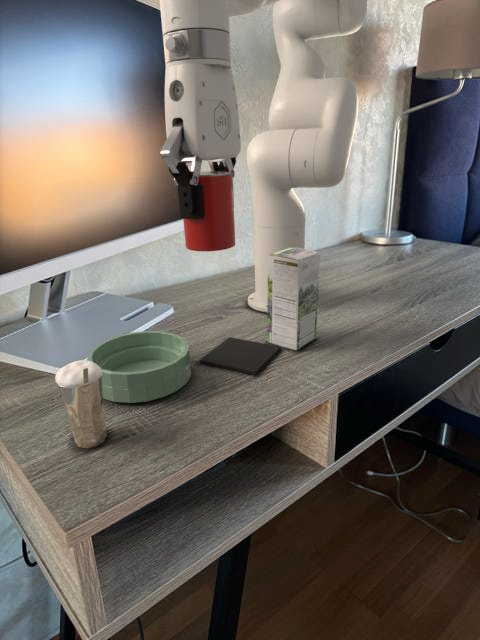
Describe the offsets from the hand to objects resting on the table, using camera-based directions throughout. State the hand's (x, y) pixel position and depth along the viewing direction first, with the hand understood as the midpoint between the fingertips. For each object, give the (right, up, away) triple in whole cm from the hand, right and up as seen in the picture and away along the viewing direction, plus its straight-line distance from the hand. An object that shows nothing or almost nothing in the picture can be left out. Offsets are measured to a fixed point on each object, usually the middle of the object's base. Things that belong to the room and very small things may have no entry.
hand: (208, 212), depth 57 cm
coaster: (+4, -19, +9) cm, 22 cm away
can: (0, -4, +2) cm, 4 cm away
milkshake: (-12, -27, -9) cm, 31 cm away
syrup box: (+13, -17, +14) cm, 25 cm away
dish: (-9, -22, +3) cm, 24 cm away
